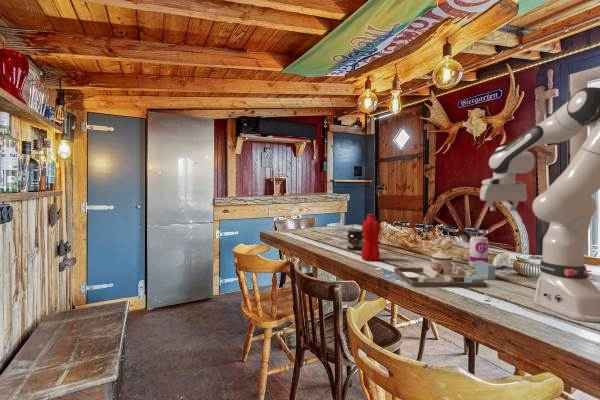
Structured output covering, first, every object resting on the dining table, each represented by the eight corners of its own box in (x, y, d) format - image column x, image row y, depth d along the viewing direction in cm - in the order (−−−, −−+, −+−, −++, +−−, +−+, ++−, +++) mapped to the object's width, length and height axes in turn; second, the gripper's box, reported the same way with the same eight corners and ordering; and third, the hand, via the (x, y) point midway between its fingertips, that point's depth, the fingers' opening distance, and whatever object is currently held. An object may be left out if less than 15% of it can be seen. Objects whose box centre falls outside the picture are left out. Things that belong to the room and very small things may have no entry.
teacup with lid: (425, 274, 145) (426, 249, 144) (439, 272, 149) (440, 247, 148) (448, 281, 134) (449, 254, 134) (462, 278, 138) (463, 252, 138)
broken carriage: (485, 286, 128) (485, 279, 128) (423, 285, 128) (423, 279, 128) (477, 282, 134) (477, 275, 133) (418, 281, 133) (418, 275, 133)
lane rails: (486, 287, 127) (486, 283, 127) (411, 286, 127) (412, 282, 127) (457, 271, 150) (457, 268, 150) (394, 271, 150) (394, 267, 150)
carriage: (497, 280, 135) (498, 267, 135) (435, 280, 135) (435, 266, 135) (479, 272, 149) (479, 259, 149) (422, 272, 149) (423, 259, 149)
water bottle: (384, 261, 169) (384, 214, 168) (363, 261, 169) (364, 214, 168) (379, 257, 178) (380, 213, 177) (360, 257, 179) (361, 213, 178)
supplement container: (343, 248, 205) (343, 229, 205) (357, 247, 210) (357, 229, 209) (352, 251, 196) (353, 232, 195) (366, 250, 200) (367, 231, 200)
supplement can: (490, 269, 154) (491, 239, 154) (471, 268, 156) (472, 238, 155) (484, 265, 162) (485, 236, 162) (466, 264, 164) (467, 235, 163)
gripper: (521, 181, 151) (520, 210, 151) (478, 181, 151) (477, 210, 151) (531, 181, 144) (529, 211, 145) (486, 180, 144) (485, 211, 145)
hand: (502, 210), depth 148 cm, fingers open, 8 cm apart
